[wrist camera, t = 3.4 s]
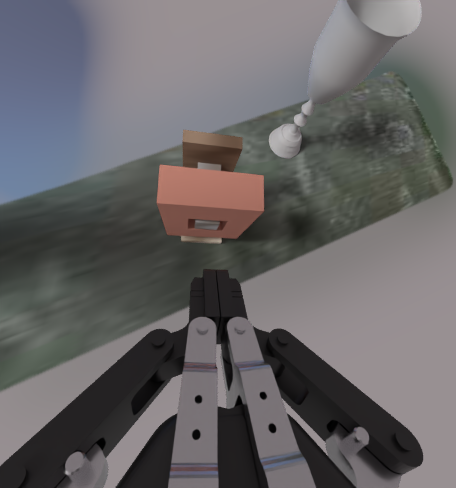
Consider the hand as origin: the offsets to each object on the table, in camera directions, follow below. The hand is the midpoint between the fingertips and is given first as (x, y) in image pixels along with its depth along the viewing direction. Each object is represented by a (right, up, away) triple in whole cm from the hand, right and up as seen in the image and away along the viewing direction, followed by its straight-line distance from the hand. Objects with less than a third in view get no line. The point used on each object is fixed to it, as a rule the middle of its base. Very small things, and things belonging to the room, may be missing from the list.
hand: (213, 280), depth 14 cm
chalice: (+9, +18, +21) cm, 29 cm away
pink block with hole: (-2, +5, +13) cm, 14 cm away
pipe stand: (-2, +6, +16) cm, 17 cm away
